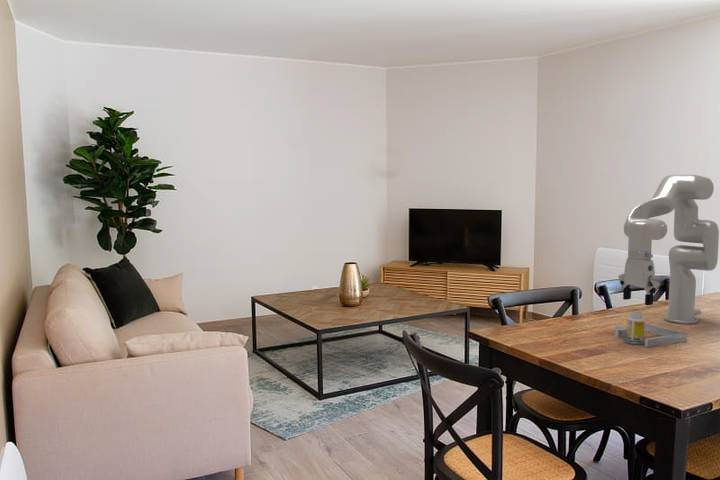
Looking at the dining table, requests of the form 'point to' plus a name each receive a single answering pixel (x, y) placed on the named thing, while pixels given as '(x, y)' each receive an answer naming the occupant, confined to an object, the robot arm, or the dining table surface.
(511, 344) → the dining table surface
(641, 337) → the supplement bottle
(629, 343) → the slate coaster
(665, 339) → the rail course
